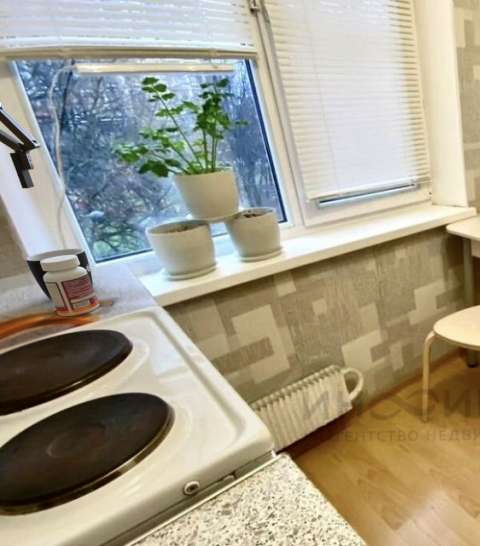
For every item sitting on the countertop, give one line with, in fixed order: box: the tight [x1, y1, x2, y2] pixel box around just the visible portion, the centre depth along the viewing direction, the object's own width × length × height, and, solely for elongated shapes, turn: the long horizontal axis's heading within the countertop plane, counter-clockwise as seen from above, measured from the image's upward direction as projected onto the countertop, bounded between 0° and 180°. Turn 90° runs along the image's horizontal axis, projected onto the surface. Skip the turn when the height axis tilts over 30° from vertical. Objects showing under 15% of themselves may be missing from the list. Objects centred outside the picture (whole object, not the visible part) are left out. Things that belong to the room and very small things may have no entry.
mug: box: [25, 248, 94, 301], centre depth 94 cm, size 12×9×10 cm
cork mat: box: [49, 299, 115, 317], centre depth 86 cm, size 9×8×1 cm
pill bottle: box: [40, 255, 100, 317], centre depth 84 cm, size 6×6×11 cm
